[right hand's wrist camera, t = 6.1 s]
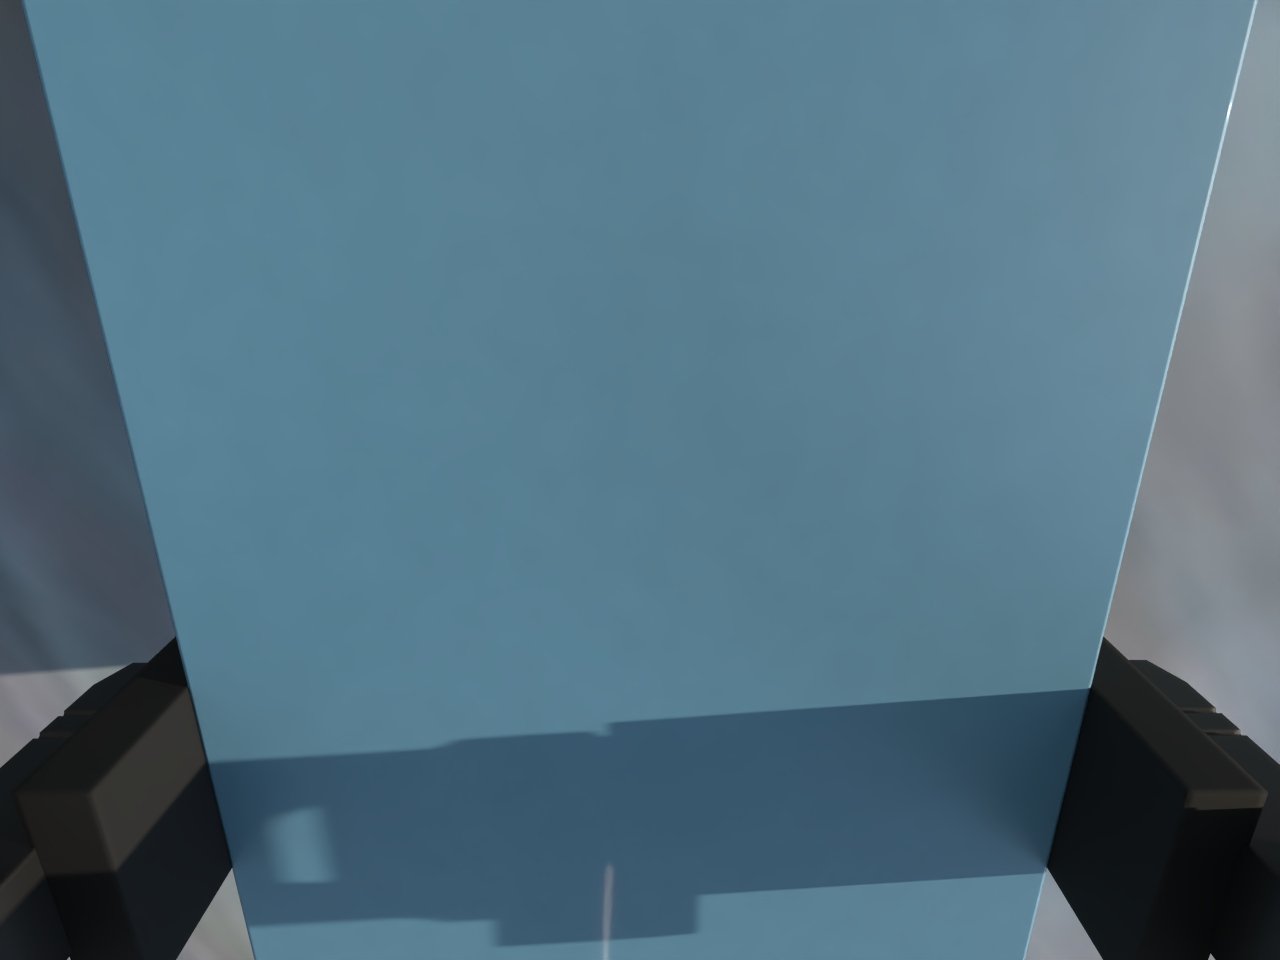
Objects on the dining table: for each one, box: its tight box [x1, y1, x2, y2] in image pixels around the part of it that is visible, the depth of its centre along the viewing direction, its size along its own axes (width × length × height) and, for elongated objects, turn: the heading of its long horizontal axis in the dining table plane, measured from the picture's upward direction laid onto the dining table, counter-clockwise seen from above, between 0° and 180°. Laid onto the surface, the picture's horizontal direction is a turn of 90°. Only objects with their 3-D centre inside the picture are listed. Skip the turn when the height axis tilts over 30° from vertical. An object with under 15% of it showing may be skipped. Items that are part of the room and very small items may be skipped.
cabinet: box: [21, 0, 1258, 960], centre depth 11 cm, size 21×10×10 cm, turn 0°
